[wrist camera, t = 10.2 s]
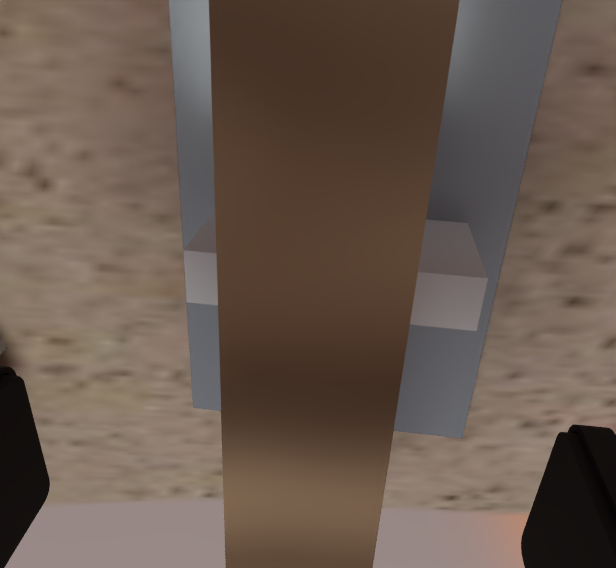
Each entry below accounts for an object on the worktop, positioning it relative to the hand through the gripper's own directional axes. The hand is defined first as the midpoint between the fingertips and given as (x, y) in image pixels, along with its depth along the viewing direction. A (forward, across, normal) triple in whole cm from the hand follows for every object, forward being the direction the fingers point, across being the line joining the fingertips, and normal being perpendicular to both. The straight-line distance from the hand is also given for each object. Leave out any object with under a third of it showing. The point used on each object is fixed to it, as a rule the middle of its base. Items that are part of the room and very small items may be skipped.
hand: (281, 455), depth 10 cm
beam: (+8, 0, +1) cm, 8 cm away
